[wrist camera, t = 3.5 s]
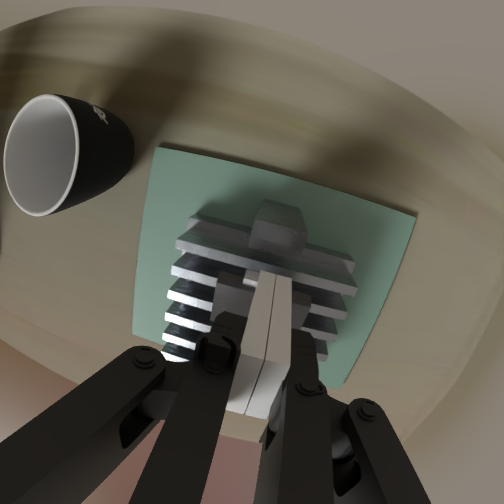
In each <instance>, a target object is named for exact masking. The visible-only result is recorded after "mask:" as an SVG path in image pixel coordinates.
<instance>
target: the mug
mask: <svg viewBox="0 0 504 504" xmlns="http://www.w3.org/2000/svg"><path fill="white" fill-rule="evenodd" d="M133 154H134V144H133V139H132V135H131V133H130V131H129V129H128V127H127V126H126V125H125V123H124V122H123V121H122V120H120V119H119V118H118V117H117V116H115V115H114V114H112V113H110V112H108V111H106V110H104V109H102V108H100V107H98V106H95V105H93V104H90V103H87V102H85V101H82V100H78V99H75V98H71V97H67V96H63V95H57V94H43V95H40V96H37V97H35V98H33V99H32V100H30V101H29V102H28V103H27V104H26V105H25V106H24V107H23V108H22V109H21V110H20V111H19V113H18V114H17V116H16V117H15V119H14V121H13V123H12V125H11V127H10V130H9V132H8V135H7V139H6V143H5V149H4V174H5V179H6V184H7V187H8V190H9V192H10V194H11V196H12V198H13V200H14V201H15V203H16V204H17V205H18V206H19V207H20V208H21V209H22V210H23V211H24V212H26V213H27V214H30V215H33V216H46V215H50V214H54V213H57V212H59V211H62V210H65V209H67V208H70V207H73V206H75V205H78V204H80V203H82V202H85V201H87V200H89V199H91V198H93V197H95V196H97V195H99V194H101V193H103V192H105V191H107V190H108V189H110V188H111V187H113V186H114V185H115V184H117V183H118V182H119V181H120V180H121V179H122V178H123V177H124V175H125V174H126V173H127V171H128V169H129V167H130V165H131V162H132V159H133Z"/></svg>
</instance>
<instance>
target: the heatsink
mask: <svg viewBox="0 0 504 504" xmlns="http://www.w3.org/2000/svg"><path fill="white" fill-rule="evenodd" d="M307 237H308V231H307V228H306V225H305V222H304V219H303V216H302V213H301V210H300V208H298V207H294V206H291V205H287V204H283V203H280V202H276V201H272V200H269V199H264V201H263V203H262V205H261V207H260V209H259V211H258V213H257V215H256V217H255V220H254V224H253V227H248V226H244V225H240V224H236V223H233V222H229V221H225V220H221V219H217V218H213V217H210V216H206V215H202V214H198V213H195V214H193V215H192V216H190V217H189V219H188V224H187V230H186V232H185V233H184V234H182V235H181V236H180V237H178V238H177V239H176V244H175V249H179V250H182V251H183V252H182V256H181V257H180V258H179V259H178V260H177V261H176V262H175V263H174V264H173V265H172V269H171V274H172V275H175V276H178V279H177V281H176V282H175V283H174V284H173V285H172V286H171V288H170V289H169V290H168V298H169V299H172V300H174V302H173V303H172V304H171V306H170V307H169V309H168V310H167V311H166V313H165V320H167V321H170V324H169V325H168V326H167V328H166V329H165V331H164V332H163V340H165V341H167V343H166V345H165V346H164V348H163V349H162V351H161V353H162V354H163V355H164V357H165V359H167V360H170V361H173V362H185V361H189V360H192V359H193V357H194V351H195V345H196V339H197V338H198V337H199V336H200V335H201V334H204V333H206V332H209V331H210V329H211V327H212V325H213V323H214V322H213V321H210V317H211V311H212V305H213V299H214V293H215V287H216V282H217V279H218V277H219V275H220V272H221V271H224V272H227V273H231V274H235V275H238V276H242V277H244V276H245V273H246V270H247V269H249V270H253V271H256V272H260V271H261V270H262V271H266V272H269V273H273V274H276V275H280V276H284V277H288V278H292V290H294V291H298V292H302V293H306V294H310V295H311V309H310V311H309V313H308V315H307V317H306V319H305V321H304V323H303V325H302V327H301V329H300V330H303V331H307V332H310V333H311V335H312V336H313V338H314V339H315V342H316V352H317V356H316V357H317V363H318V361H322V362H326V360H327V358H328V356H329V355H328V350H327V345H326V341H331V342H335V341H336V339H337V336H338V333H337V329H336V325H335V322H334V318H336V319H340V320H344V321H345V318H346V316H347V314H348V311H347V308H346V306H345V303H344V300H343V298H342V297H343V294H346V295H350V296H354V297H355V295H356V292H357V290H358V287H357V285H356V283H355V281H354V279H353V277H352V276H351V273H352V271H353V268H354V265H355V261H354V259H353V258H352V256H351V255H349V254H345V253H342V252H338V251H335V250H331V249H328V248H324V247H321V246H317V245H314V244H310V243H307V242H306V240H307ZM318 374H319V366H318ZM245 412H246V410H245ZM243 415H245V413H244V414H243ZM247 416H248V415H247Z"/></svg>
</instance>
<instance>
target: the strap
mask: <svg viewBox="0 0 504 504" xmlns="http://www.w3.org/2000/svg"><path fill="white" fill-rule="evenodd" d="M259 275H260V272H256V271H253V270H249V269H247V270H246V273H245V276H244V277H242V276H238V275H235V274H231V273H227V272H224V271H221V272H220V275H219V277H218V279H217V282H216V287H215V293H214V299H213V305H212V311H211V317H210V321H213V322H214V320H215V318H216V316H217V315H219V314H220V313H222V312H223V311H227V312H230V313H234V314H237V315H241V316H245V317H248V315H249V311H250V308H251V304H252V301H253V297H254V293H255V290H256V286H257V282H258V279H259ZM275 278H276V277H275ZM310 309H311V295H310V294H306V293H302V292H298V291H294V290H292V304H291V328H294V329H298V330H300V329H301V327H302V325H303V323H304V321H305V319H306V317H307V315H308V313H309V311H310Z"/></svg>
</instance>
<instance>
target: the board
mask: <svg viewBox="0 0 504 504" xmlns="http://www.w3.org/2000/svg"><path fill="white" fill-rule="evenodd" d="M264 199H269V200H272V201H276V202H280V203H283V204H287V205H291V206H294V207H298V208H300V210H301V213H302V216H303V219H304V222H305V225H306V228H307V231H308V237H307V240H306V242H307V243H310V244H314V245H317V246H321V247H324V248H328V249H331V250H335V251H338V252H342V253H345V254H349V255H351V256H352V258H353V259H354V261H355V265H354V268H353V271H352V273H351V276H352V277H353V279H354V281H355V283H356V285H357V287H358V290H357V292H356V295H355V297H354V296H350V295H346V294H343V297H342V298H343V300H344V303H345V306H346V308H347V311H348V314H347V316H346V318H345V321H344V320H340V319H336V318H334V322H335V325H336V329H337V333H338V336H337V339H336V341H335V342H331V341H326V345H327V350H328V355H329V356H328V358H327V360H326V362H322V361H318V366H319V380H320V381H321V382H322V383H323V384H324V385H325V387H331V388H337V389H340V388H341V386H342V384H343V383H344V381H345V379H346V377H347V376H348V374H349V372H350V370H351V368H352V367H353V365H354V363H355V361H356V359H357V357H358V355H359V353H360V351H361V350H362V348H363V346H364V344H365V342H366V340H367V338H368V336H369V334H370V332H371V330H372V327H373V325H374V323H375V321H376V319H377V317H378V315H379V312H380V310H381V308H382V306H383V304H384V301H385V299H386V297H387V294H388V292H389V290H390V287H391V285H392V283H393V280H394V278H395V275H396V273H397V270H398V268H399V265H400V262H401V260H402V257H403V255H404V252H405V249H406V246H407V244H408V241H409V238H410V235H411V232H412V229H413V226H414V223H415V220H416V218H415V217H413V216H410V215H408V214H405V213H402V212H399V211H397V210H394V209H391V208H388V207H386V206H383V205H380V204H377V203H374V202H371V201H368V200H365V199H362V198H359V197H356V196H353V195H350V194H347V193H344V192H341V191H338V190H334V189H331V188H328V187H325V186H321V185H318V184H314V183H311V182H308V181H304V180H301V179H297V178H294V177H290V176H286V175H283V174H279V173H275V172H271V171H267V170H264V169H260V168H256V167H252V166H247V165H243V164H239V163H235V162H231V161H226V160H222V159H217V158H213V157H208V156H203V155H199V154H194V153H189V152H184V151H179V150H173V149H168V148H162V147H155V151H154V156H153V161H152V166H151V171H150V176H149V182H148V187H147V193H146V199H145V206H144V212H143V219H142V226H141V234H140V242H139V250H138V259H137V269H136V280H135V293H134V308H133V328H132V334H134V335H137V336H139V337H142V338H145V339H148V340H150V341H153V342H156V343H159V344H162V345H166V343H167V341H165V340H163V332H164V331H165V329H166V328H167V326H168V325H169V324H170V321H167V320H165V313H166V311H167V310H168V309H169V307H170V306H171V304H172V303H173V302H174V300H172V299H169V298H168V290H169V289H170V288H171V286H172V285H173V284H174V283H175V282H176V281H177V279H178V276H175V275H172V274H171V269H172V265H173V264H174V263H175V262H176V261H177V260H178V259H179V258H180V257H181V256H182V252H183V251H182V250H179V249H175V244H176V239H177V238H178V237H180V236H181V235H182V234H184V233H185V232H186V230H187V224H188V219H189V217H190V216H192V215H193V214H195V213H198V214H202V215H206V216H210V217H213V218H217V219H221V220H225V221H229V222H233V223H236V224H240V225H244V226H248V227H253V224H254V220H255V217H256V215H257V213H258V211H259V209H260V207H261V205H262V203H263V201H264Z"/></svg>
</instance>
